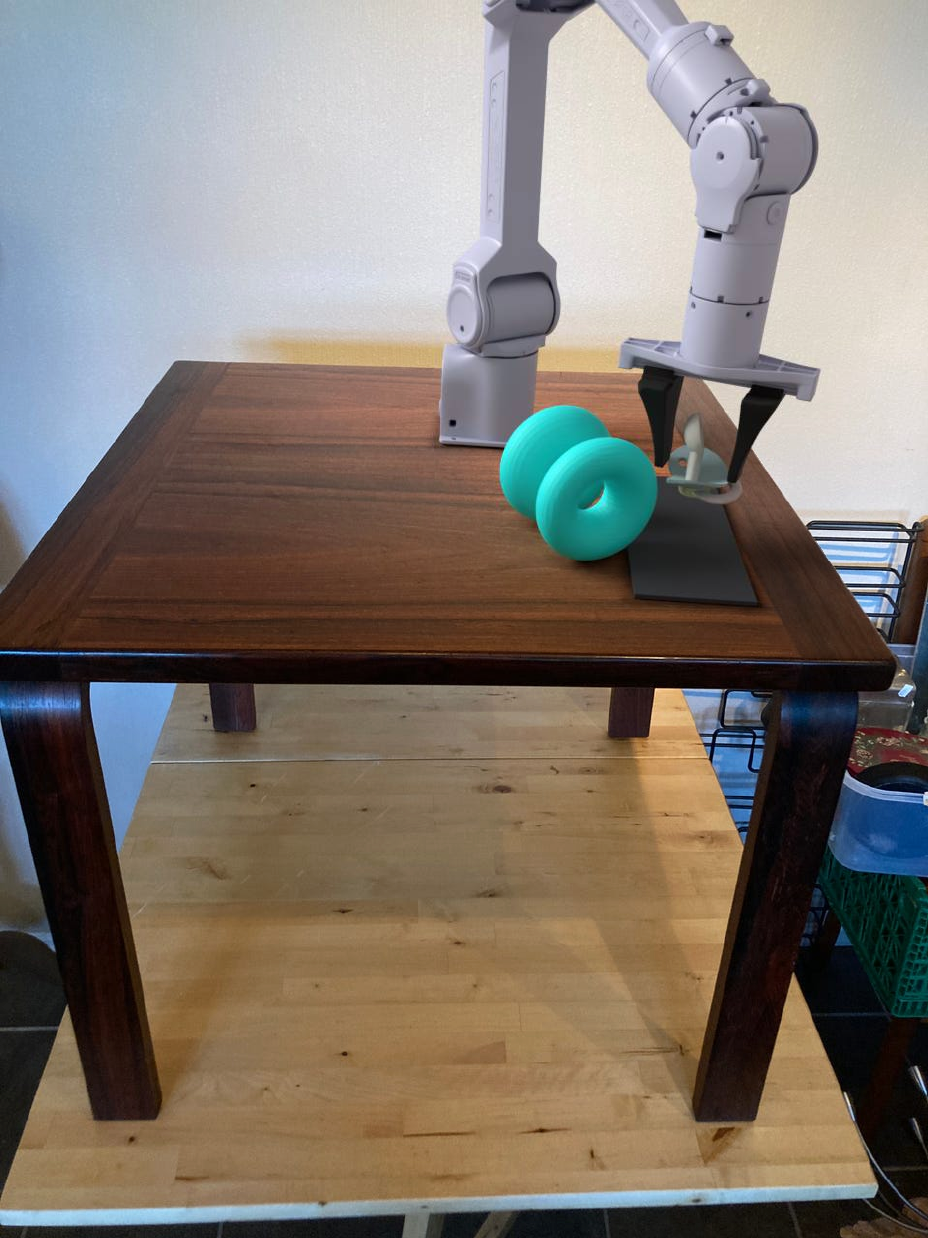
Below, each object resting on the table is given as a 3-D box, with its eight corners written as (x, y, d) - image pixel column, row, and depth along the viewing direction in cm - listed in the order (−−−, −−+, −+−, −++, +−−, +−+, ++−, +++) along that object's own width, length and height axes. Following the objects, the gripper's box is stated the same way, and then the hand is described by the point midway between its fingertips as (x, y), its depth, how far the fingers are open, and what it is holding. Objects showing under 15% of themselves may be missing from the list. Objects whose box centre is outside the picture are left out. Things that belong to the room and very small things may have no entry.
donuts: (596, 505, 85) (609, 394, 80) (654, 557, 77) (673, 439, 72) (491, 519, 82) (497, 406, 77) (540, 576, 74) (552, 453, 69)
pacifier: (738, 478, 80) (665, 468, 81) (755, 405, 77) (679, 395, 78) (742, 516, 74) (662, 505, 75) (760, 439, 71) (677, 428, 71)
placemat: (634, 598, 72) (634, 593, 72) (615, 477, 91) (616, 473, 90) (756, 606, 72) (757, 602, 71) (712, 483, 90) (713, 479, 90)
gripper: (841, 297, 70) (800, 471, 77) (647, 270, 75) (625, 436, 83) (827, 319, 65) (783, 505, 72) (619, 289, 70) (598, 464, 77)
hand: (697, 470), depth 77 cm, fingers closed on pacifier, 5 cm apart
